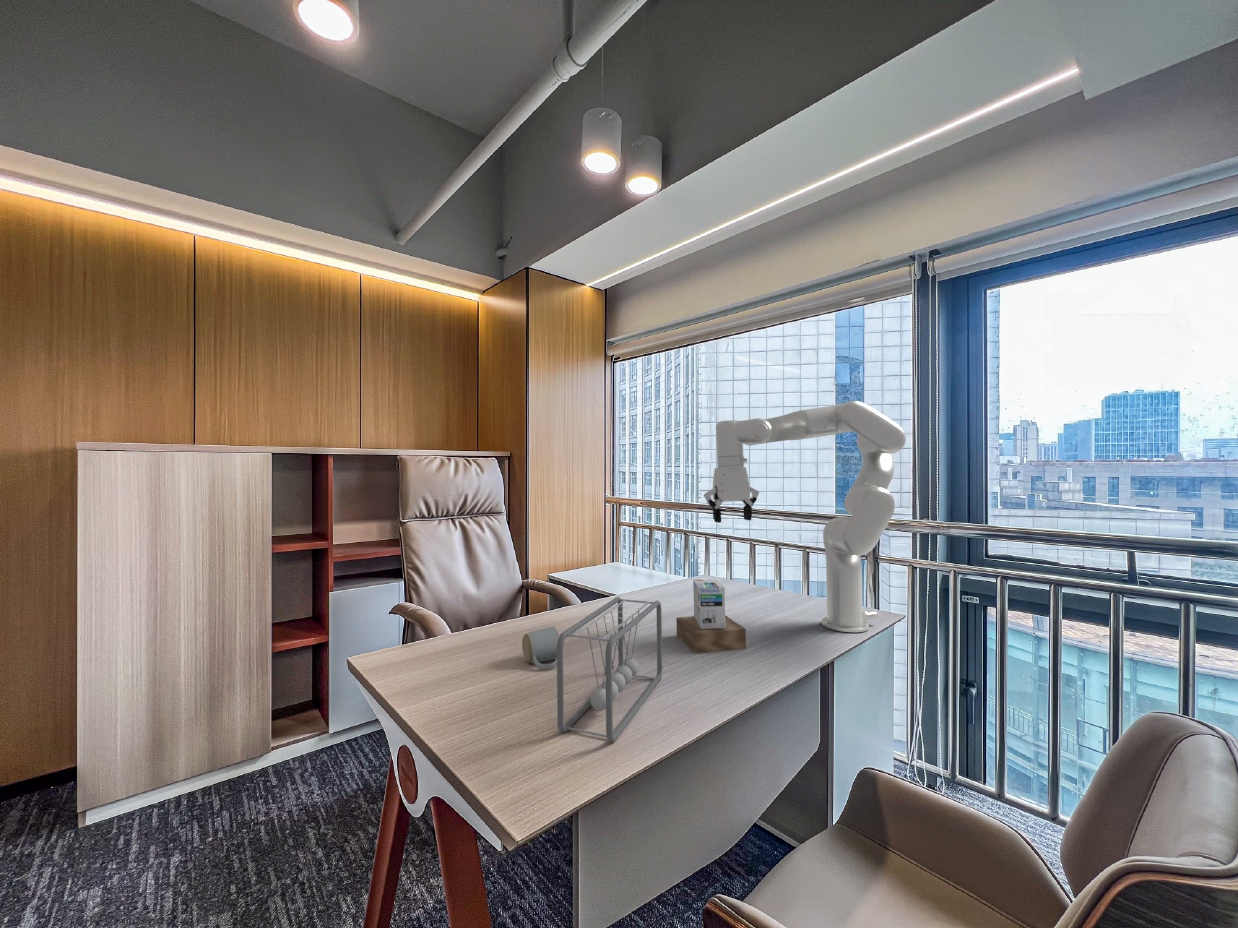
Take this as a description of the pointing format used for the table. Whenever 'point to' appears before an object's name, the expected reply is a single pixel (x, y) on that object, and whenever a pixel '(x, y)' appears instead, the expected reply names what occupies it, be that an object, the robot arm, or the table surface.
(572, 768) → the table surface
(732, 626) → the walnut block
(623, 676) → the newton's cradle
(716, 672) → the table surface
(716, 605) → the light bulb box
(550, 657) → the ceramic mug
